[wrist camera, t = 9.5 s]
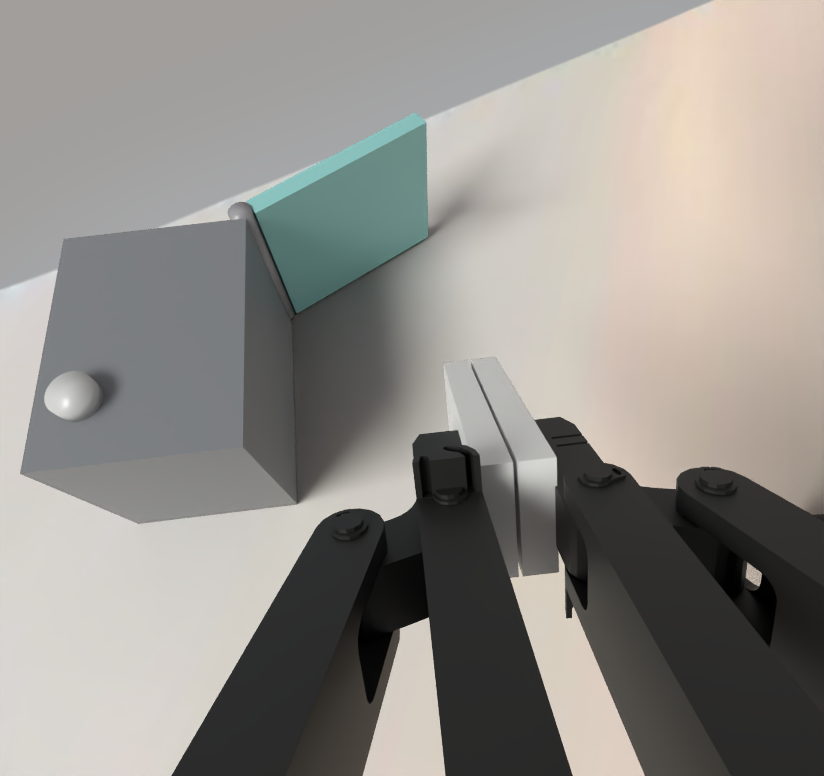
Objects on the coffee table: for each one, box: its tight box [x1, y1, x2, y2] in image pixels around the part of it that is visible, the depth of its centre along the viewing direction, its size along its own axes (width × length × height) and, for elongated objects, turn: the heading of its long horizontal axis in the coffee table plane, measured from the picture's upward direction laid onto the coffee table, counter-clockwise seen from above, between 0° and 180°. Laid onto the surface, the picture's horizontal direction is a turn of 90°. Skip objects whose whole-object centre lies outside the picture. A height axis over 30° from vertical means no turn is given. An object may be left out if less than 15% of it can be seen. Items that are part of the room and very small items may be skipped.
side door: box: [228, 113, 428, 320], centre depth 34 cm, size 12×2×10 cm, turn 125°
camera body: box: [20, 218, 297, 524], centre depth 30 cm, size 9×14×11 cm, turn 7°
